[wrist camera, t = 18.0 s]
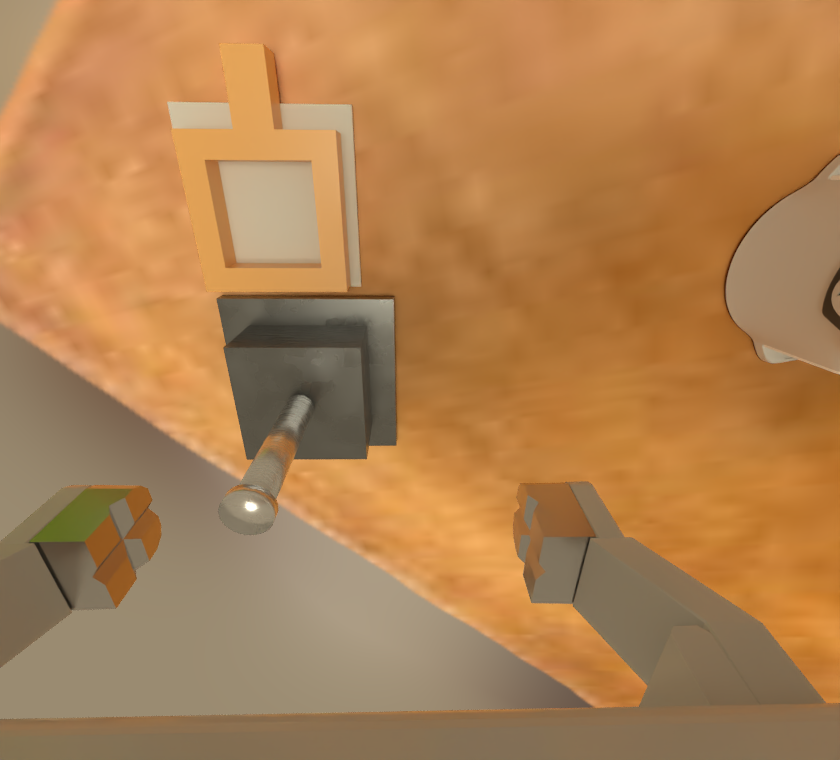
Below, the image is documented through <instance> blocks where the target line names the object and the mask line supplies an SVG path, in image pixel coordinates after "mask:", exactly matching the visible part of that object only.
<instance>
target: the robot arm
mask: <svg viewBox="0 0 840 760" xmlns="http://www.w3.org/2000/svg"><path fill="white" fill-rule="evenodd" d="M726 301H727V306H728V309H729V312H730V314H731V316H732V318H733V320H734V321H735V323H736V324H737V325H738V326H739V327H740V328H741V329H742V330H743V331H744V332H746V333H747V334H748V335H749V336H750V337H751V338H752V340H753V342H754V346H755V349H756V352H757V355H758V356H759V358H760V359H761V360H763V361H766V362H769V363H773V364H775V363H782V362H788V361H793V360H801V361H803V362H806V363H809V364H811V365H814V366H817V367H820V368H822V369H825V370H828V371H830V372H833V373H836V374H839V375H840V155H839V156H837V157H836V158H835V159H834V160H833V161H832V162H831V163H830V164H829V165H828V166H827V167H826V168H825V169H824V170H823V171H822V172H821V173H820V174H819V175H818V176H817V177H816V178H815V179H814V180H813V181H812V182H810V183H809V184H808V185H806V186H805V187H803V188H801V189H799V190H798V191H796V192H794V193H793V194H791V195H789V196H787V197H786V198H784V199H783V200H781V201H780V202H779V203H777V204H776V205H775V206H773V207H772V208H771V209H770V210H769V211H767V212H766V213H765V214H764V215H763V216H762V217H761V218H760V219H759V220H758V221H757V222H756V223H755V225H754V226H753V227H752V228H751V229H750V231H749V232H748V233H747V235H746V236H745V238H744V239H743V241H742V242H741V244H740V246H739V247H738V249H737V251H736V253H735V255H734V257H733V260H732V262H731V265H730V268H729V272H728V276H727V282H726ZM517 500H518V503H519V506H520V508H519V509H518V510H517V511H516V512H515V513H514V521H513V535H514V542H515V548H516V551H517V555H518V557H519V558H520V559H521V560H522V561H523V562H524V563H525V565H524V572H523V576H524V579H525V583H526V586H527V590H528V593H529V596H530V600H531V603H562V604H573V607H574V608H575V609H576V610H577V611H578V612H579V613H580V614H581V615H582V616H583V617H584V618H585V619H586V620H587V621H588V623H589V624H590V625H591V626H592V627H593V628H594V629H595V630H596V631H597V632H598V633H599V634H600V635H601V636H602V637H603V639H604V640H605V641H606V642H607V643H608V644H609V645H610V646H611V647H612V648H613V649H614V650H615V651H616V652H617V653H618V655H619V656H620V657H621V658H622V659H623V660H624V661H625V662H626V663H627V664H628V665H629V666H630V667H631V668H632V670H633V671H634V672H635V673H636V674H637V675H638V676H639V677H640V678H641V679H642V680H643V681H644V682H645V683H646V684H647V689H646V691H645V693H644V696H643V698H642V700H641V703H640V705H639V707H605V708H557V709H556V708H552V709H504V710H503V709H500V710H454V711H453V710H449V711H397V712H348V713H347V712H346V713H298V714H297V713H296V714H243V715H196V716H195V715H193V716H192V715H191V716H145V717H144V716H143V717H91V718H90V717H88V718H41V719H40V718H35V719H0V760H840V703H826V702H825V701H824V700H823V699H822V697H821V696H820V695H819V694H818V692H817V691H816V690H815V689H814V687H813V686H812V685H811V684H810V682H809V681H808V680H807V679H806V677H805V676H804V675H803V674H802V672H801V671H800V670H799V669H798V667H797V666H796V665H795V664H794V662H793V661H792V660H791V659H790V657H789V656H788V655H787V654H786V652H785V651H784V650H783V649H782V647H781V646H780V645H779V644H778V642H777V641H776V640H775V639H774V637H773V636H772V635H771V634H770V632H769V631H768V630H767V629H766V627H765V626H764V625H763V624H762V623H761V622H760V621H758V620H757V619H755V618H754V617H752V616H751V615H749V614H748V613H746V612H745V611H743V610H741V609H740V608H738V607H737V606H735V605H734V604H732V603H731V602H729V601H728V600H726V599H725V598H723V597H722V596H720V595H719V594H717V593H716V592H714V591H713V590H711V589H710V588H708V587H706V586H705V585H703V584H702V583H700V582H699V581H697V580H696V579H694V578H693V577H691V576H690V575H688V574H687V573H685V572H684V571H682V570H681V569H679V568H678V567H676V566H675V565H673V564H671V563H670V562H668V561H667V560H665V559H664V558H662V557H661V556H659V555H658V554H656V553H655V552H653V551H652V550H650V549H649V548H647V547H646V546H644V545H643V544H641V543H640V542H638V541H637V540H635V539H633V538H632V537H624V535H623V534H622V532H621V531H620V529H619V527H618V526H617V524H616V522H615V521H614V519H613V518H612V516H611V514H610V513H609V511H608V509H607V508H606V506H605V505H604V503H603V501H602V500H601V498H600V496H599V495H598V493H597V492H596V490H595V488H594V487H593V485H592V484H591V483H589V482H565V483H520V485H519V487H518V492H517ZM151 502H152V498H151V495H150V493H149V491H148V488H145V487H142V486H124V485H94V486H92V485H71V486H67V487H64V488H62V489H61V490H59V491H58V492H57V493H56V494H55V495H54V496H52V497H51V498H50V499H49V500H48V501H47V502H46V503H44V504H43V505H42V506H41V507H40V508H39V509H37V510H36V511H35V512H34V513H33V514H31V515H30V516H29V517H28V518H27V519H26V520H25V521H24V522H23V523H21V524H20V525H19V526H18V527H16V528H15V529H14V530H13V531H12V532H11V533H10V534H8V535H7V536H6V537H5V538H4V539H3V540H1V541H0V668H1V667H2V666H3V665H4V664H6V663H7V662H8V661H10V660H11V659H12V658H13V657H15V656H16V655H18V654H19V653H20V652H21V651H23V650H24V649H25V648H27V647H28V646H29V645H30V644H32V643H33V642H34V641H36V640H37V639H38V638H40V637H41V636H42V635H44V634H45V633H46V632H47V631H49V630H50V629H51V628H53V627H54V626H55V625H56V624H58V623H59V622H60V621H61V620H63V619H64V618H66V617H67V616H68V615H70V614H71V613H72V611H71V610H92V609H116V608H117V607H118V605H119V604H120V602H121V601H122V599H123V598H124V597H125V595H126V594H127V592H128V591H129V589H130V588H131V587H132V585H133V584H134V582H135V581H136V579H137V577H136V569H138V568H139V567H141V566H142V565H144V564H145V563H147V562H148V561H150V559H151V557H152V556H153V555H154V553H155V552H156V550H157V548H158V545H159V541H160V538H161V523H160V520H159V517H158V516H157V515H156V514H155V513H154V512H152V511H151V510H150V509H149V508H148V507H149V505H150V504H151Z"/></svg>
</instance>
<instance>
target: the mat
mask: <svg viewBox="0 0 840 760" xmlns="http://www.w3.org/2000/svg"><path fill="white" fill-rule="evenodd" d="M167 104H168V108H169V113H170V118H171V122H172V127H173V128H178V129H233V127H232V121H231V115H230V109H229V103H211V102H167ZM280 110H281V118H282V127H283V129H287V130H336V131H338V132H339V133H341V146H342V161H343V176H344V191H345V206H346V221H347V236H348V251H349V266H350V281H351V286H350V287H361V266H360V246H359V227H358V207H357V188H356V169H355V149H354V130H353V111H352V105H345V104H280ZM218 164H219V170H220V175H221V181H222V186H223V192H224V197H225V203H226V208H227V213H228V219H229V224H230V230H231V235H232V241H233V246H234V252H235V257H236V263H321V257H320V247H319V236H318V226H317V216H316V205H315V195H314V184H313V174H312V163H311V162H247V161H218Z"/></svg>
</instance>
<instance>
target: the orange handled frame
mask: <svg viewBox="0 0 840 760" xmlns="http://www.w3.org/2000/svg"><path fill="white" fill-rule="evenodd" d="M219 48H220V54H221V60H222V66H223V72H224V78H225V84H226V90H227V96H228V103H229V109H230V115H231V121H232V127H233V129H178V128H171V132H172V137H173V141H174V146H175V150H176V155H177V159H178V164H179V168H180V173H181V178H182V182H183V187H184V191H185V196H186V200H187V205H188V209H189V214H190V219H191V223H192V228H193V232H194V237H195V241H196V246H197V250H198V255H199V259H200V264H201V269H202V273H203V278H204V282H205V287H206V291H207V292H347V291H348V290H349V288H350V286H351V281H350V266H349V251H348V236H347V221H346V206H345V191H344V176H343V161H342V146H341V133H339V132H338V131H336V130H287V129H283V127H282V118H281V110H280V101H279V93H278V84H277V76H276V68H275V59H274V54H273V53H272V52H271V51H270V50H269V49H268V48H267V47H266V46H265V45H264V44H235V43H219ZM218 161H247V162H311V163H312V174H313V184H314V195H315V205H316V216H317V226H318V236H319V247H320V257H321V263H236V257H235V252H234V246H233V241H232V235H231V230H230V224H229V219H228V213H227V208H226V203H225V197H224V192H223V186H222V181H221V175H220V170H219V164H218Z"/></svg>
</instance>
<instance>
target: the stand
mask: <svg viewBox="0 0 840 760" xmlns="http://www.w3.org/2000/svg"><path fill="white" fill-rule="evenodd" d="M217 303H218V308H219V313H220V317H221V322H222V327H223V332H224V337H225V342H226V346H225V347H224V353H225V357H226V362H227V367H228V372H229V376H230V381H231V386H232V391H233V395H234V400H235V405H236V410H237V414H238V419H239V424H240V429H241V433H242V438H243V443H244V448H245V452H246V457H247V459H254V460H253V462H252V463H251V465H250V467H249V469H248V470H247V472H246V474H245V476H244V477H243V479H242V481H241V483H240V485H238V486H235V487H233V488H231V489H230V490H229V491H228V492H227V493H226V495H225V497H224V498H223V500H222V502H221V503H220V505H219V509H218V513H219V517H220V519H221V521H222V522H223V523H224V525H225V526H227V527H228V528H229V529H231V530H233V531H234V532H237V533H240V534H244V535H257V534H261V533H264V532H266V531H267V530H268V529H269V528H271V526H272V525H273V522H274V520H275V518H276V515H277V513H278V503H277V500H276V498H277V496H278V493H279V491H280V489H281V486H282V484H283V482H284V479H285V477H286V475H287V472H288V470H289V468H290V466H291V463H292V461H293V459H367V454H368V448H369V446H382V445H396V441H397V433H396V376H395V320H394V296H246V295H222V296H220V297H219V298H217Z"/></svg>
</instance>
